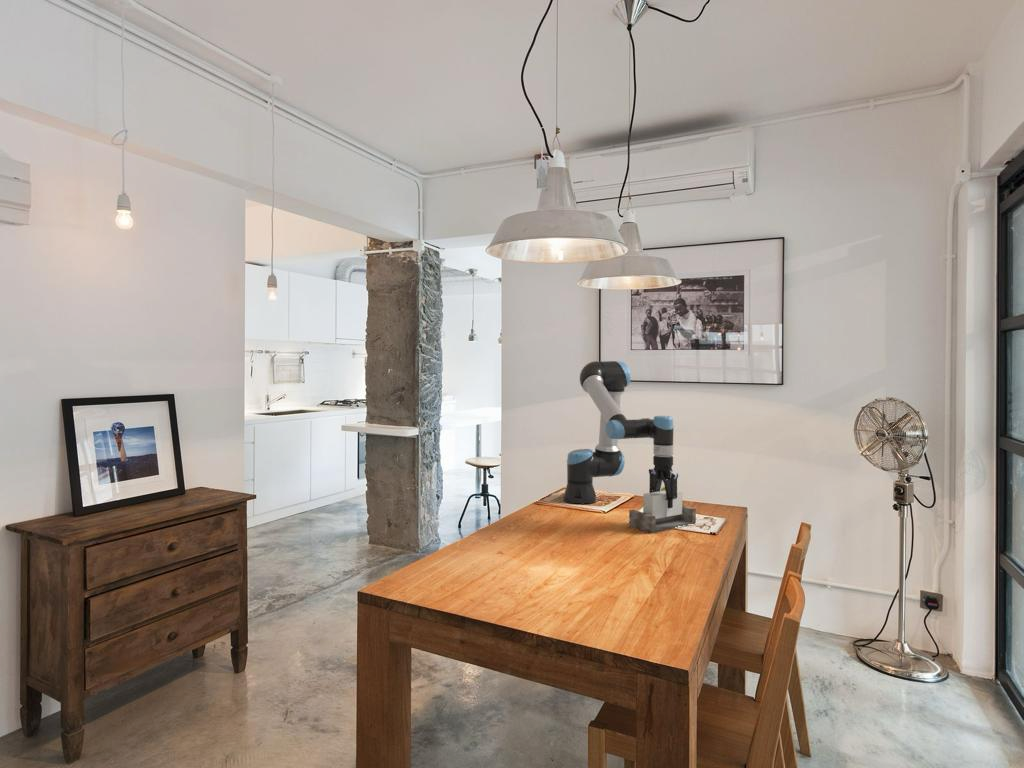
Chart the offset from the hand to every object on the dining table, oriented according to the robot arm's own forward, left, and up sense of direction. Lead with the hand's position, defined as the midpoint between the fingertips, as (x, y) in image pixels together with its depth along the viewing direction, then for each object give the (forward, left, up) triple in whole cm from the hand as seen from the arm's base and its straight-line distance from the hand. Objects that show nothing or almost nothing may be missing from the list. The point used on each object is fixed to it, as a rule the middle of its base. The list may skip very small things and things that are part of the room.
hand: (662, 514), depth 235 cm
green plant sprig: (-22, +24, -5) cm, 33 cm away
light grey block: (0, 0, 0) cm, 0 cm away
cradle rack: (0, 0, -4) cm, 4 cm away
